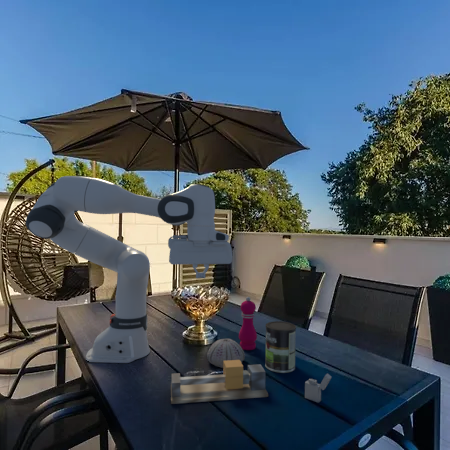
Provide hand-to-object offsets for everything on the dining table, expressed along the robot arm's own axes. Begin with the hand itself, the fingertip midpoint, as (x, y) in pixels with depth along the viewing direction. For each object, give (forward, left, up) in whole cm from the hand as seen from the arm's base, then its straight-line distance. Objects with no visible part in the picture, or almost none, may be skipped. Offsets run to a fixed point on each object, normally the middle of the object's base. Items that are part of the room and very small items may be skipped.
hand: (200, 278), depth 106 cm
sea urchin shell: (+10, +9, -32) cm, 34 cm away
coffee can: (+28, +3, -31) cm, 42 cm away
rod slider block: (+4, -11, -31) cm, 33 cm away
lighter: (+31, -20, -31) cm, 48 cm away
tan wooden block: (+9, -11, -29) cm, 33 cm away
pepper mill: (+21, +22, -31) cm, 44 cm away
